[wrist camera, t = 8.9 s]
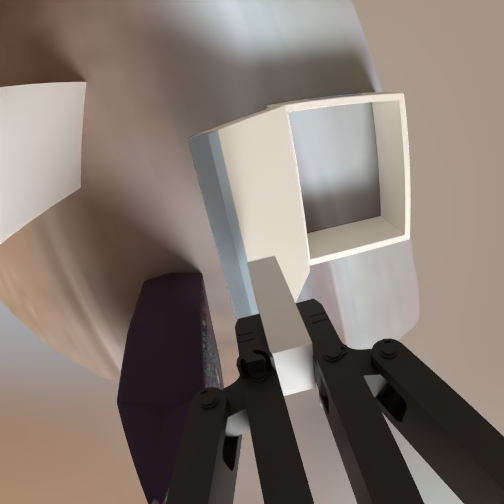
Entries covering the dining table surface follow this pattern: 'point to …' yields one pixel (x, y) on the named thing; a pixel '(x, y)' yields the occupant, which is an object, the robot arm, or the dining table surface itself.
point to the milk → (38, 149)
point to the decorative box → (165, 374)
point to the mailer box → (390, 179)
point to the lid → (252, 200)
